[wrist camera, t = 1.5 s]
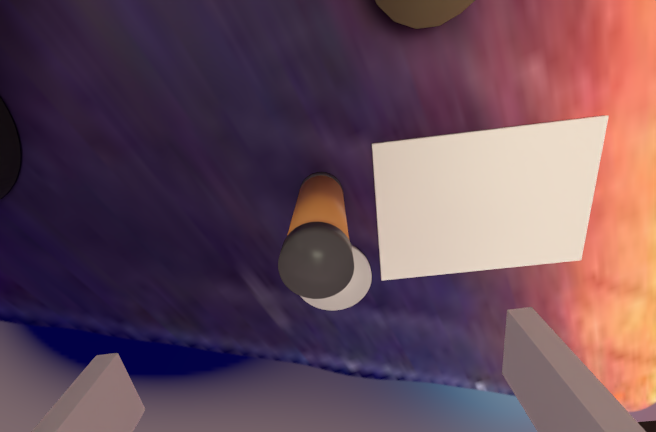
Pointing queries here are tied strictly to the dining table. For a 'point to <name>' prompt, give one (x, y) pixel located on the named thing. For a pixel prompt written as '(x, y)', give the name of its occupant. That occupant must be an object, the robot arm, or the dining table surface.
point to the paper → (486, 197)
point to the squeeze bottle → (423, 11)
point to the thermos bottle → (317, 241)
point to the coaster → (348, 286)
